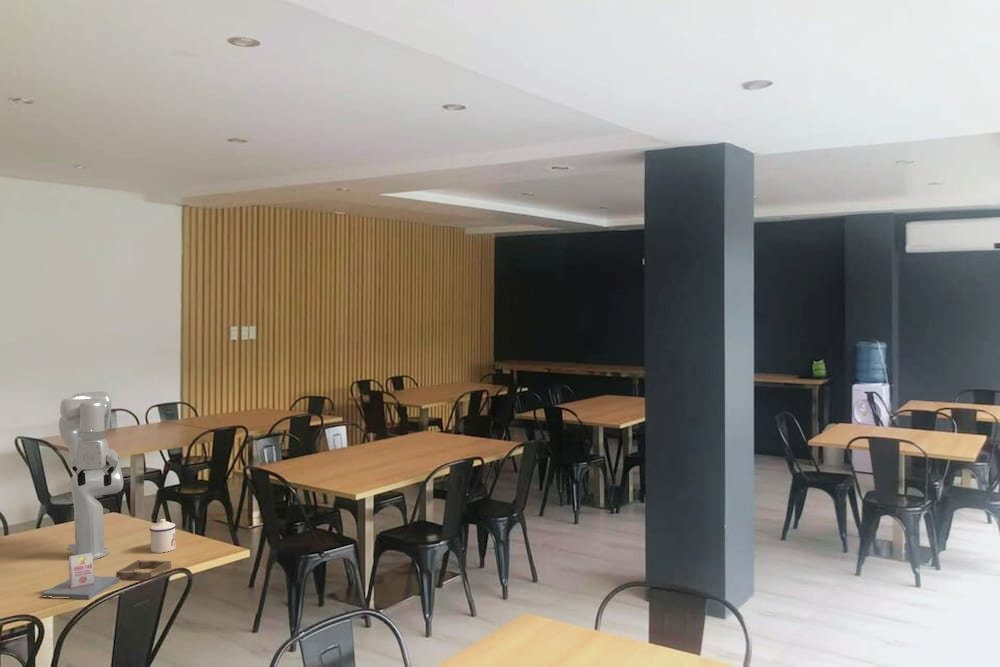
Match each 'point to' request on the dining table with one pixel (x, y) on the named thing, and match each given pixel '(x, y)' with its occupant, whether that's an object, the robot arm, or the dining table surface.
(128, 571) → the tray
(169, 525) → the teacup with lid
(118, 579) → the grey tile
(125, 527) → the dining table surface
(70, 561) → the white red printed box
